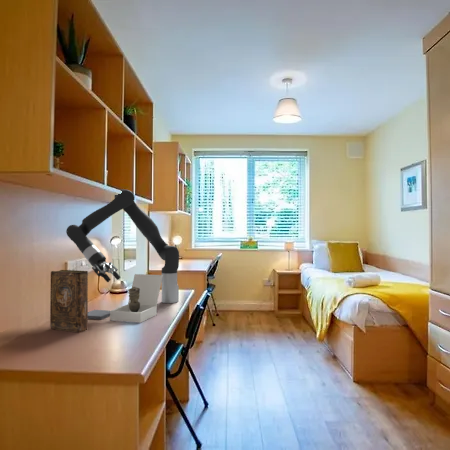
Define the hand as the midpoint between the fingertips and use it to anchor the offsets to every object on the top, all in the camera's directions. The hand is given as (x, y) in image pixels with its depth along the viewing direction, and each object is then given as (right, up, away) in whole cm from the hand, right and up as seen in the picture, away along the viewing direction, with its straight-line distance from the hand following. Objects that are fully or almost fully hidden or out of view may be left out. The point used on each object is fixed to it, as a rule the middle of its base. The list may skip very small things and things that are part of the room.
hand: (114, 279), depth 179 cm
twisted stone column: (+11, -18, -3) cm, 21 cm away
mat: (-8, -18, 0) cm, 20 cm away
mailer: (+12, -18, 0) cm, 21 cm away
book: (-12, -18, -23) cm, 32 cm away
